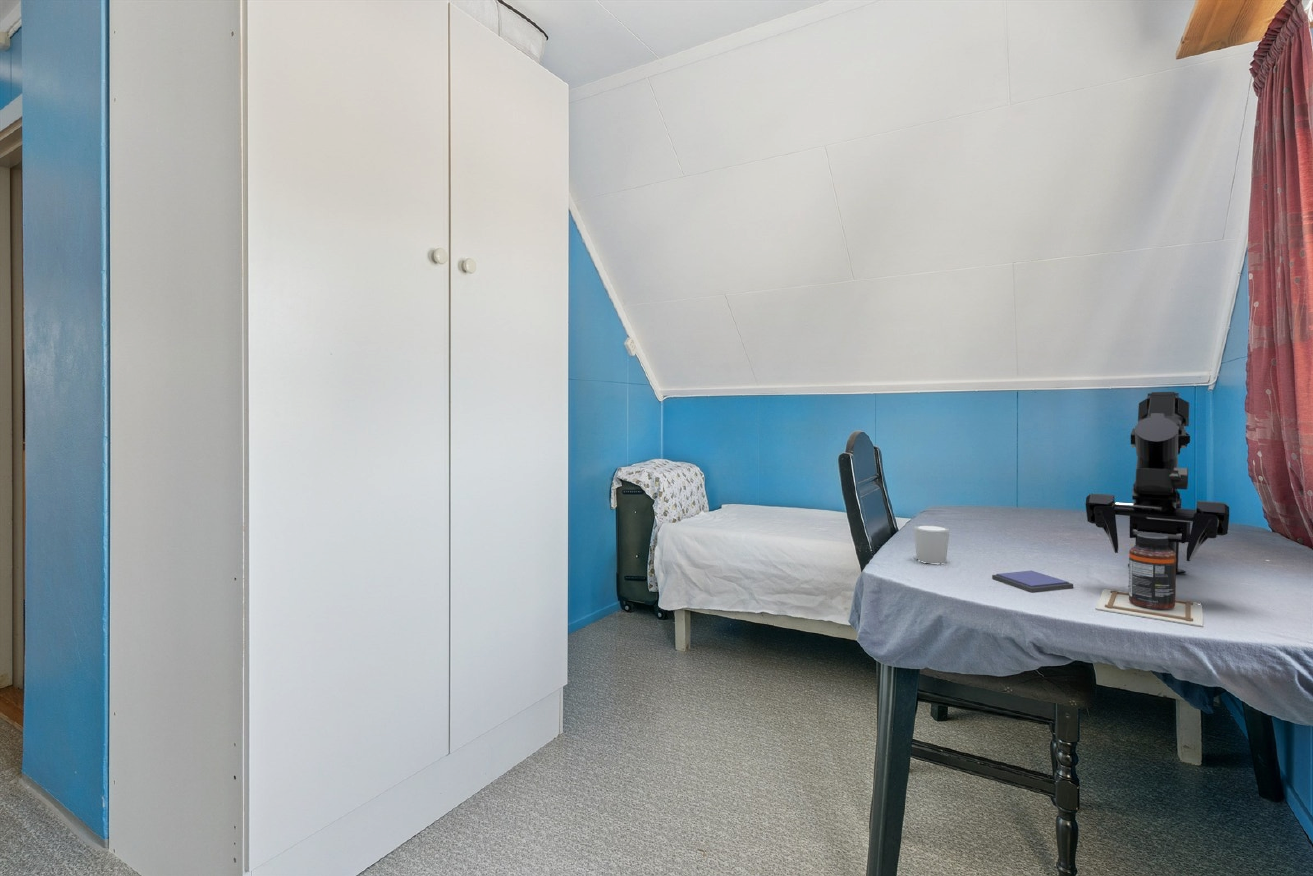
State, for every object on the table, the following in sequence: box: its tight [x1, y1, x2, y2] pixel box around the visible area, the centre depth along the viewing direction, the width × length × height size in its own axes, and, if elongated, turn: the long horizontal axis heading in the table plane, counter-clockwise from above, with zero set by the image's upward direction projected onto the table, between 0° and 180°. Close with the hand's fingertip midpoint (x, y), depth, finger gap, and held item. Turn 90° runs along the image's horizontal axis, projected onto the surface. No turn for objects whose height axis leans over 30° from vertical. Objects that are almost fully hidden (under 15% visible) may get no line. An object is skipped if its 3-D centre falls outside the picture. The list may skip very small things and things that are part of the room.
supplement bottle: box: [1127, 532, 1177, 610], centre depth 102 cm, size 6×6×11 cm
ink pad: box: [991, 570, 1074, 593], centre depth 116 cm, size 9×9×1 cm
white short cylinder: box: [913, 524, 951, 564], centre depth 132 cm, size 7×7×7 cm
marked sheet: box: [1094, 588, 1204, 628], centre depth 102 cm, size 13×13×1 cm
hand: (1151, 555), depth 103 cm, fingers open, 9 cm apart
